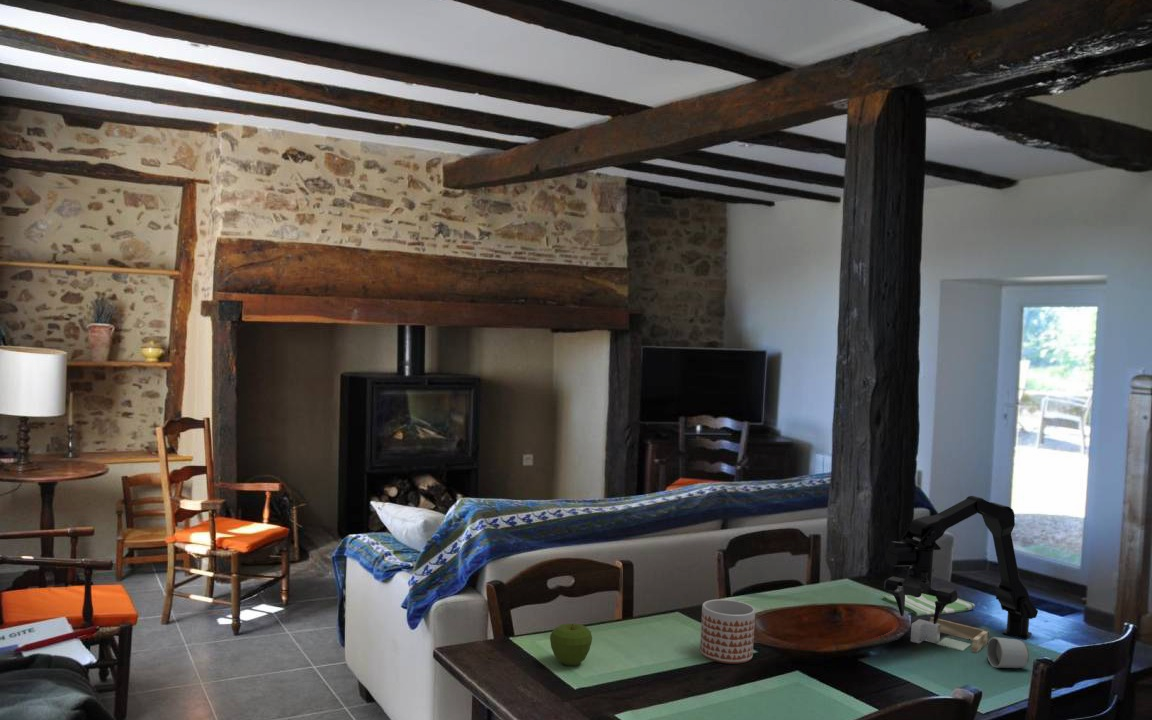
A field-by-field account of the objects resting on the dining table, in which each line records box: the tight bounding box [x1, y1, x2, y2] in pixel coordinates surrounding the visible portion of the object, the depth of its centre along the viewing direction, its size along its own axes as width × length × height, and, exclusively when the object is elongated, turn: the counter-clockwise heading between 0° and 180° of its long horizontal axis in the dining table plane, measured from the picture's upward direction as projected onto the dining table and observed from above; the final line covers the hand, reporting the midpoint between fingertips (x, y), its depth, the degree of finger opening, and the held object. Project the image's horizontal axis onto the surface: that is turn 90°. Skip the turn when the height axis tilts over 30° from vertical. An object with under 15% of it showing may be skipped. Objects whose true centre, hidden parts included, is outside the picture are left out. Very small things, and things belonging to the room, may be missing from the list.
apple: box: [549, 623, 593, 667], centre depth 227 cm, size 11×10×10 cm
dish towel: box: [881, 594, 976, 617], centre depth 292 cm, size 18×23×3 cm
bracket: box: [910, 618, 941, 645], centre depth 256 cm, size 6×6×5 cm
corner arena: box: [929, 616, 990, 654], centre depth 259 cm, size 11×16×4 cm
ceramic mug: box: [986, 636, 1030, 669], centre depth 241 cm, size 11×8×8 cm
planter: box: [699, 598, 756, 665], centre depth 238 cm, size 14×14×13 cm
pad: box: [936, 637, 972, 652], centre depth 255 cm, size 7×7×1 cm
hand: (918, 619), depth 256 cm, fingers open, 9 cm apart
